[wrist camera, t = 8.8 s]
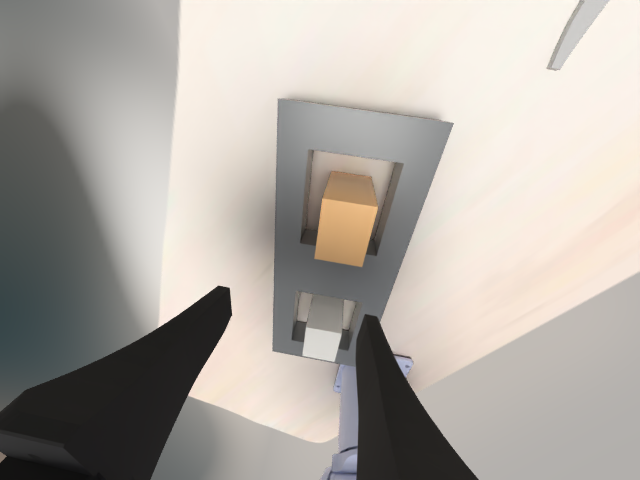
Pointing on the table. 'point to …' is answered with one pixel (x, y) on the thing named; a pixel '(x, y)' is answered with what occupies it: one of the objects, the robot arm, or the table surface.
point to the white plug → (323, 328)
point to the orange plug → (346, 219)
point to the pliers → (575, 30)
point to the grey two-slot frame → (300, 243)
